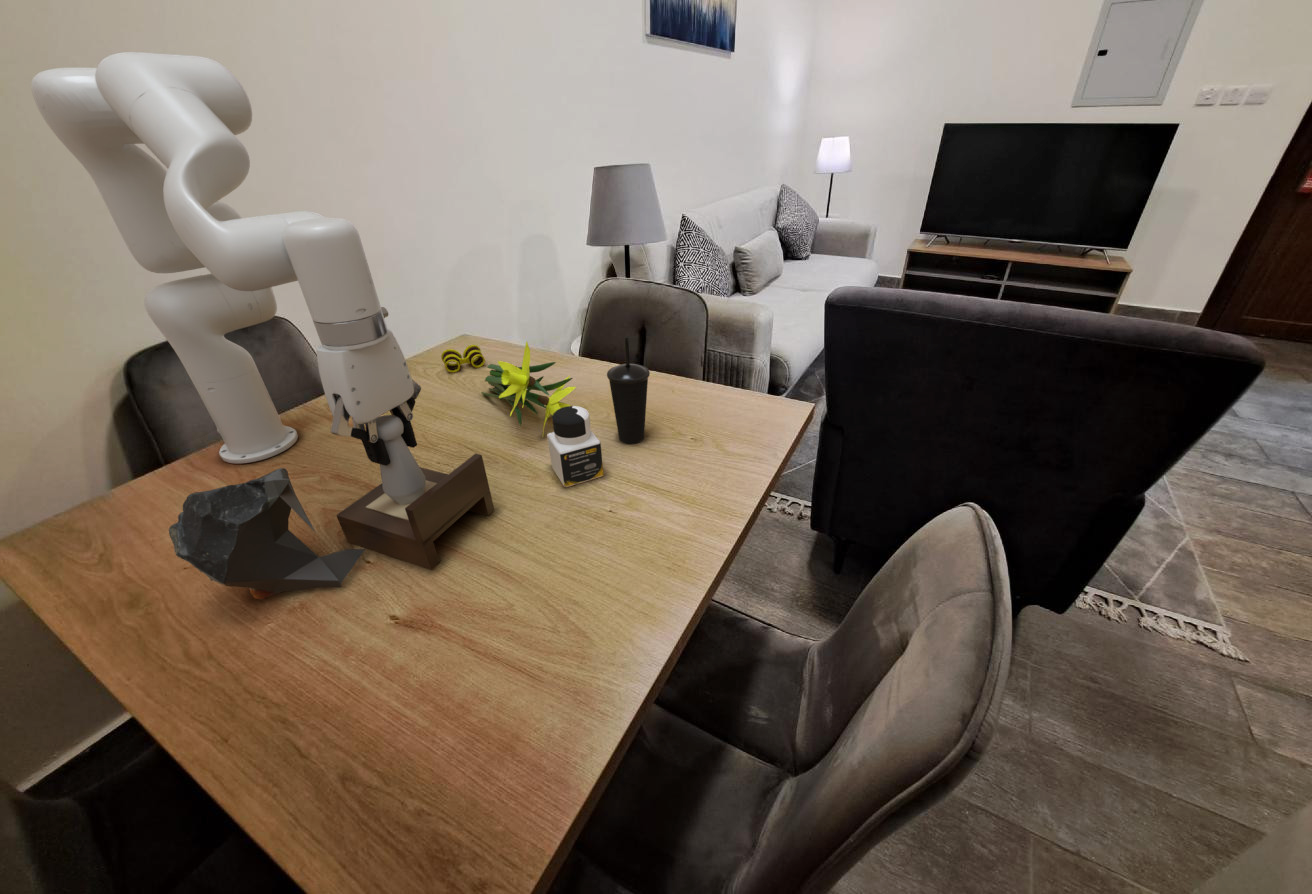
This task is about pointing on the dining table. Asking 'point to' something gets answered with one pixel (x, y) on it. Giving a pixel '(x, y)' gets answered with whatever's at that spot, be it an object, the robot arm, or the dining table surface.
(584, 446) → the medicine bottle
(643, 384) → the drinking cup
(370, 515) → the dark wooden box
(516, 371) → the daffodil flowers
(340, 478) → the dining table surface
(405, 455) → the salt shaker
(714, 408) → the dining table surface
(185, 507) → the dark grey irregular lump
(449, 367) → the opera glasses
